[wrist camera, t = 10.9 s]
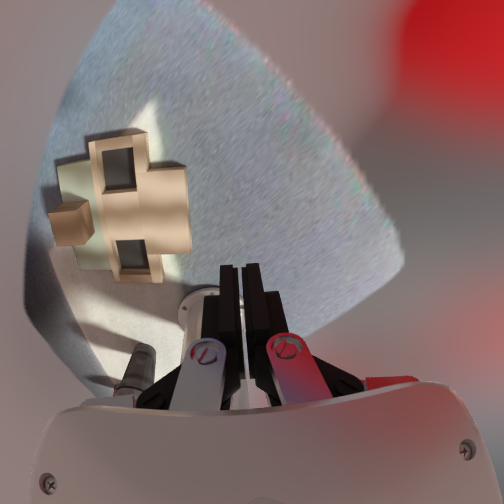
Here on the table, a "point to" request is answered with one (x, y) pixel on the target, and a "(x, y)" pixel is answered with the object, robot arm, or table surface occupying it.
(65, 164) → the board
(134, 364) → the beverage cup
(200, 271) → the table surface
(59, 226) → the walnut block
